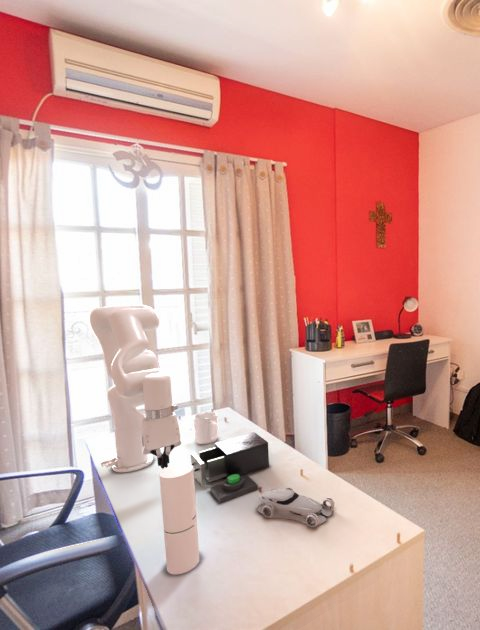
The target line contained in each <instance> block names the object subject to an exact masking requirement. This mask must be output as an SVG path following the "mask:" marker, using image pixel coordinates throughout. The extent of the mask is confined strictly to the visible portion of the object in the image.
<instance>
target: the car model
mask: <svg viewBox="0 0 480 630" xmlns="http://www.w3.org/2000/svg"><path fill="white" fill-rule="evenodd" d="M256 499H257V501H258V502H260V503H262V504H259V506H258V507H257V511H258V512H259V513H260V514H261V515H263V516H264V518H268V519H271V518H277V519H278V518H279V519H287V520H293V521H296V522H299V523H302V524H305V525H306V526H308V527H310V528H315V527H317V526H319V525H321V524H323V523H325V522H326V521H327V518H329V517H331V516H332V514H333V510H334V508H335V500H334V499H333V498H332V497H326V498H324V499H323V500H322V503H321V502H319V501H317V500H315V499H313V498H311V497H309V496H306V495H302V494H300V493H297V492H296V491H294V489H293V488H292V487H286V488H284V489H268V490H264V491H262V492H261V493H259V494H258V495H257V497H256ZM327 502H328V503H329V504H330V506H328V505H327Z"/></svg>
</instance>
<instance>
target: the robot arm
mask: <svg viewBox="0 0 480 630" xmlns="http://www.w3.org/2000/svg"><path fill="white" fill-rule="evenodd" d="M88 323H89V327H90V329H91V332H92V333H93V335H94V337H95V339H97V341H98V343H99V345H100V347H101V351H102V355H103V360H104V364H105V368H106V372H107V374H108V377H109V378H110V379H111V380H112V381H113V386H111V387H110V388H109V389H108V391H107V401H108V403H109V406H110V410H111V415H112V422H113V431H114V441H115V451H116V452H115V454H114V457H111V458H110V459H105V460H101V461H100V465H101V467H106V468H110V467H112V471H114V472H116V473H130V472H134V471H138V470H142V469H143V468H146V467H148V466H150V465H151V464H152V463H153V461H154V456H155V457H156V459H157V466H158V467H160V468H161V470H163V469H165V468H167V467H169V465H168V464H170V454H171V452H172V451H173V450H174V448H177V447H179V446H181V445H182V441H181V431H180V425H179V420H178V417H177V414H176V412H175V410H178V409H179V407H178V404H173V396H172V384H171V383H172V382H171V376H170V375H169V374H168V373H167V372H166V371H165V370H164V369H162V368H160V363H159V360H158V357H157V356H156V354H155V353H154V352H153V350H152V351H151V350H148V348H149V345H150V342H149V340H148V337H147V335H146V333H145V332H148V331H155V330H156V329H158V328H159V325H160V318H159V315H158V313H157V311H156V310H155V309H153V308H152V307H151V306H148V305H146V304H138V303H137V304H125V305H124V304H123V305H121V304H120V305H109V306H106V305H105V306H101V307H100V306H99V307H96V308H94V309H92V310H91V311H90V313H89V315H88ZM143 405H144V414H145V415H144V414H143V412H142V411H140V410H138V409H137V407H140V406H143ZM162 448H163V452H162V451H161V449H162Z"/></svg>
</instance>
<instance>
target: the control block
mask: <svg viewBox="0 0 480 630" xmlns="http://www.w3.org/2000/svg"><path fill="white" fill-rule="evenodd" d="M258 489H259V487H258V483H256V482H255V481H254V479H252V478H251V477H250V476H249V474H247V475H244V476H240V481H239V482H238V483H235V484H228V478H227V479H226V478H225V479H224V480H223V481H222V482H221V483H218V484H215V485H213V486H210V493H211V495H213V496H214V498H215V499H216V500H217V501H218V503H219V504H223V503H224V502H227V501H231V500H233V499H236V498H238V497H241V496H244V495H246V494H248V493H252V492H254V491H256V490H258Z"/></svg>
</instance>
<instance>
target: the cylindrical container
mask: <svg viewBox="0 0 480 630" xmlns="http://www.w3.org/2000/svg"><path fill="white" fill-rule="evenodd" d="M158 476H159V486H160V487H159V488H160V500H161V510H162V511H161V513H162V525H163V537H164V550H165V561H166V562H165V563H166V571H167V572H168V574H170V575H182V574H185V573H188V572H190V571H192V570H193V569H194V568H195V567H196V566H197V565H198V564H199V563H200V547H199V533H198V531H199V530H198V519H197V504H196V489H195V477H194V473H193V466H192V465H191V463H183V462H182V463H177V464H173V465H170V466H169V465H168V467H167V468H166V467H165V468H163V469H161V471H160V472H159V475H158Z"/></svg>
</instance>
